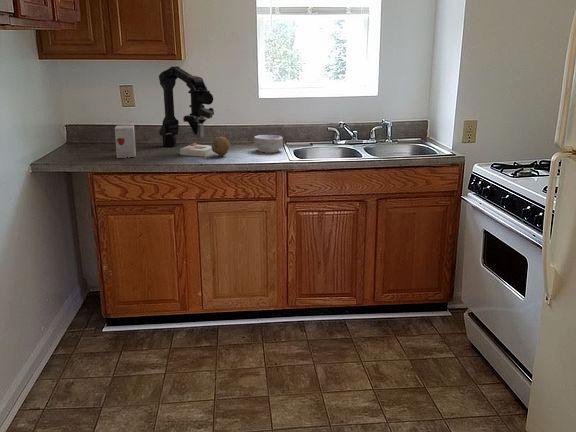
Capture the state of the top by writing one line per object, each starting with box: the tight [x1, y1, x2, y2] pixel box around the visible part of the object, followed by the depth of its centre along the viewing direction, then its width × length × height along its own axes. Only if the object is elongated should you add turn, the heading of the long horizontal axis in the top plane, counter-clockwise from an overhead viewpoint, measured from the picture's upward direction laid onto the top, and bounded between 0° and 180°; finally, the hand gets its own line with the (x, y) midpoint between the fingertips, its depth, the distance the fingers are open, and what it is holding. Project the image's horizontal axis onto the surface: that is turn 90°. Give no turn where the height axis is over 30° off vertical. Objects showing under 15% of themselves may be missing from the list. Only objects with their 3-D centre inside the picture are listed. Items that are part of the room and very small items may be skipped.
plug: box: [190, 123, 205, 138], centre depth 283 cm, size 5×4×6 cm
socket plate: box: [179, 142, 216, 157], centre depth 287 cm, size 14×14×4 cm
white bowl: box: [253, 134, 284, 154], centre depth 293 cm, size 15×15×8 cm
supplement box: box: [114, 124, 137, 159], centre depth 276 cm, size 9×9×15 cm
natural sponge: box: [211, 136, 231, 157], centre depth 279 cm, size 9×9×10 cm
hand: (197, 133), depth 284 cm, fingers closed on plug, 4 cm apart
